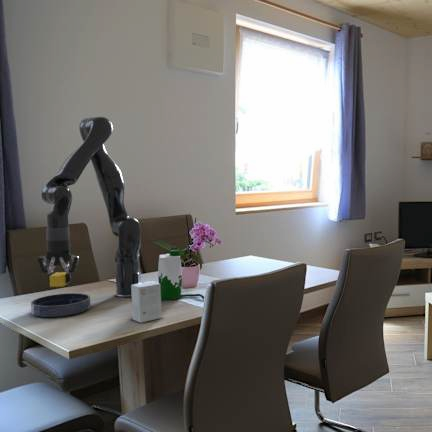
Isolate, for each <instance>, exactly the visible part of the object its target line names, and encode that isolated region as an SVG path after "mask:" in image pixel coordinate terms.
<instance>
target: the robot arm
mask: <svg viewBox="0 0 432 432" xmlns="http://www.w3.org/2000/svg"><path fill="white" fill-rule="evenodd" d="M78 127H79V129H78V131H79V134H80V137H81V140H82V143H81V144H80V145H78V147H77V148H76V149H75V150H74V151H73V152H72V153H70V155H68V156H67V158H66V159H65V160H64V162H63V163H62V165H61V167H60V168H59V170H58V172H57V173H56V174H54V175H53V177H51V179H49V180H48V181H47V182H46V183H45V184H44V186H43V187H42V189H41V192H40V197H41V200H42V201H43V202H44V203H45V204H49V205H53V208H52V210H49V211H48V212H47V213H46V232H45V233H46V235H45V239H46V254H45V255H44V256H39V257H38V258H37V262H38V264H39V267H40V270H41V272H42V273H43V274H44V273H45V274H47V278H48V279H47V280H48V281H47V282H48V283H49V284H50V276H51V275H53V274H54V273H55V268H56V266H62V268H63V269H64V272H66V274H65V276H66V285H68V284H69V283H70V282H71V281H72V273H74V272H75V271H77V268H78V266H79V262H80V259H81V258H80V255H72V252H71V231H70V227H69V225H70V224H69V214H70V211H71V206H72V202H73V193H72V191H71V188H69V186H73V185H75V184H76V183H77V182H78V180H79V179H80V177H81V176H82V174H83V172H84V170H85V168H86V167H87V165H88V164H89V163H90V161H91V164H92V168H93V170H94V174H95V177H96V181H97V184H98V186H99V189H100V192H101V195H102V198H103V202H104V204H105V207H106V211H107V216H108V221H109V227H110V231H111V232H112V234H113V235H114V236H115V237H117V238H118V245H117V247H116V248H115V249H114V262H115V263H114V266H115V292H116V293H115V296H116V297H119V298H132V291H131V285H133V284H139V283H144V282H145V281H142V271H141V269H140V250H141V246H142V227H141V224H140V222H139V221H138V219H136V218H134V217H130V216H129V213H128V212H127V209H126V206H125V181H124V178H123V175H122V172H121V169H120V167H119V166H118V165H117V163H116V162H115V161H114V159H113V158H112V157H111V156H110V155H109V153H108V151H107V150H106V148H105V145H104V144H105V143H106V142H107V141H108V139H109V138H110V137H111V136H112V134H113V130H114V128H113V124H112V122H111V120H109V119H108V118H107V117H105V116H93V117H86V118H83V119H82V120H81V121H80V122H79V126H78ZM70 260H71V261H72V265H70V263H69V261H70ZM47 261H48V262H49V266H47V263H46V262H47ZM185 297H201V298H202V299H203V300H204V297H205V296H204V295H203V294H201V293H193V294H192V293H188V294H187V293H186V294H181V296H180V298H185ZM161 300H162V298H161Z"/></svg>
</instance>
